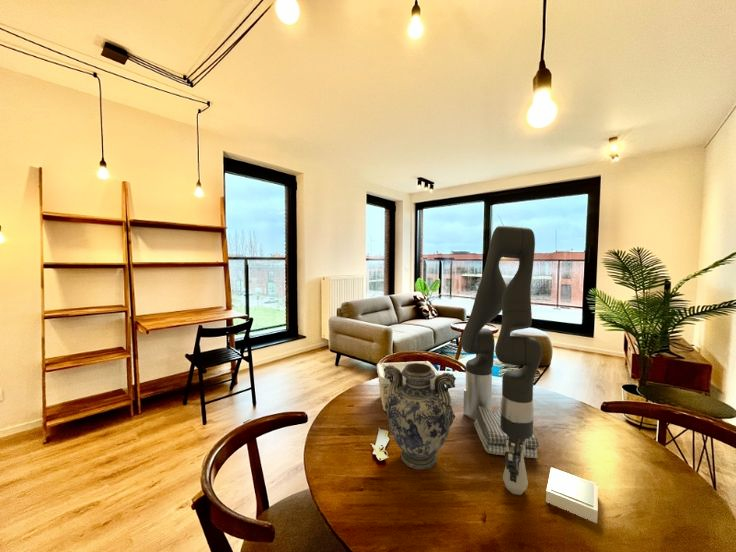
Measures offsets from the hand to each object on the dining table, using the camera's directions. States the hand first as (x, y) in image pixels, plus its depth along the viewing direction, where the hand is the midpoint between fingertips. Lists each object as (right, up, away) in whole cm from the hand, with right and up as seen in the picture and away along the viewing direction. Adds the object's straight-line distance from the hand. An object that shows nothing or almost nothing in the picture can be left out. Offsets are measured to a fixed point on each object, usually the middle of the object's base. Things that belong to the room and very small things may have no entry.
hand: (515, 477), depth 78 cm
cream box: (-22, -1, +47) cm, 52 cm away
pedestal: (+13, -3, -3) cm, 13 cm away
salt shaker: (0, -3, 0) cm, 3 cm away
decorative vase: (-23, -3, +13) cm, 27 cm away
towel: (+6, -2, +21) cm, 22 cm away
